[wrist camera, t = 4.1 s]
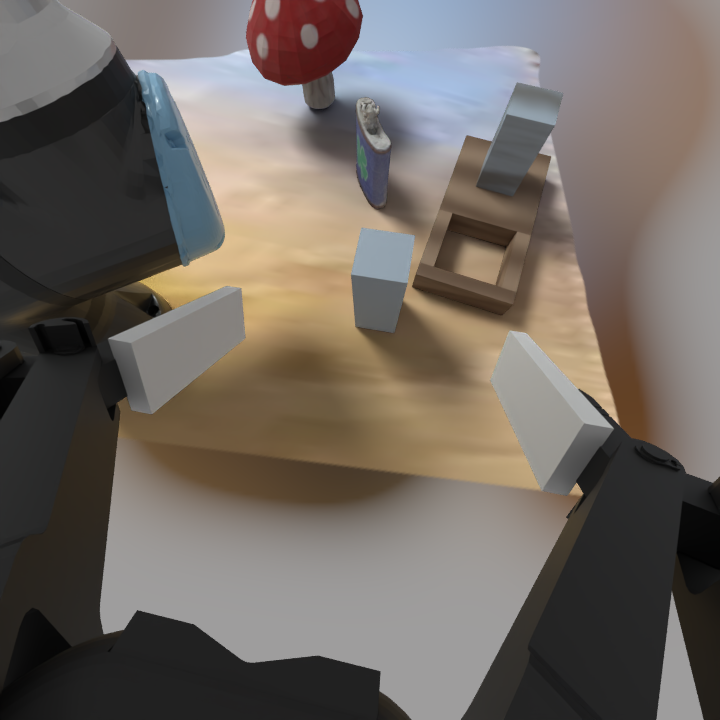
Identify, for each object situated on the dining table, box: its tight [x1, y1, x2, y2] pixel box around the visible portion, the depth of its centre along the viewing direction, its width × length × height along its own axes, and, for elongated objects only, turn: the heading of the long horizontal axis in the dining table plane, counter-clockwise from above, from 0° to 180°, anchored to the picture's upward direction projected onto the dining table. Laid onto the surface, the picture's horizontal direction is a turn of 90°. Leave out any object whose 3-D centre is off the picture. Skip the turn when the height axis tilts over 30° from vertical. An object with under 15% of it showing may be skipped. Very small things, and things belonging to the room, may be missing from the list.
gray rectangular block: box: [351, 228, 415, 333], centre depth 32 cm, size 5×5×12 cm
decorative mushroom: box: [246, 0, 363, 109], centre depth 41 cm, size 16×16×15 cm
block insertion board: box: [412, 83, 563, 315], centre depth 35 cm, size 24×12×12 cm, turn 159°
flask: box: [356, 97, 391, 209], centre depth 38 cm, size 9×3×11 cm, turn 16°
